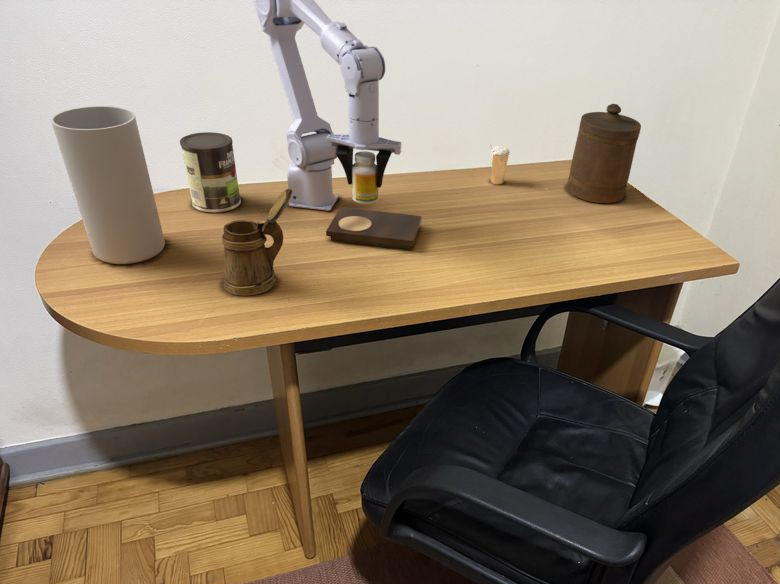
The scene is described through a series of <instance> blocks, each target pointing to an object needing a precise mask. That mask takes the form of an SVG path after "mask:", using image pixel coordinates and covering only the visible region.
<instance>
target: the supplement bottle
mask: <svg viewBox="0 0 780 584" xmlns="http://www.w3.org/2000/svg"><path fill="white" fill-rule="evenodd" d="M375 162H376V154H375V153H374V152H371V151H368V150H360V151H357V152H355V153H354V162H353V165H352V184H351V197H352V200H353V201H354V202H355V203H357V204H360V205H373V204H375V203H376V202H378V200H379V188H378V187H377V163H375Z"/></svg>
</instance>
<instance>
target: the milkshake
mask: <svg viewBox="0 0 780 584" xmlns="http://www.w3.org/2000/svg"><path fill="white" fill-rule="evenodd" d="M489 145H490V146H489V147H490V149H491V157H490V159H491V164H490V182H491V183H492V184H493V185H502V184H504V181H505V177H506V171H507V166H508V161H509V157H510V150H509V149H508V147H506V146H503V145H495V146H494V147H492V144H489Z"/></svg>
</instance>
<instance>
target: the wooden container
mask: <svg viewBox="0 0 780 584" xmlns="http://www.w3.org/2000/svg"><path fill="white" fill-rule="evenodd" d="M621 112H622V108H621V106H620V105H619V104H618V103H610V104H609V105H607V106H606V111H593V112H592V111H591V112H585V113H583V114H582V115H581V119H580V123H579V127H578V133H577V137H576V142H575V146H574V150H573V153H572V159H571V163H570V167H569V175H568V180H567V185H566V188H567V192H569V193H570V194H571V195H573V196H574V197H576V198H578V199H581V200H583V201H586V202H591V203H594V204H595V203H598V204H613V203H618V202H620V201H622V200H623V199H624V197H625V194H626V189H627V186H628V182H629V178H630V175H631V170H632V165H633V161H634V156H635V151H636V147H637V143H638V140H639V137H640V133H641V129H642V125H641V123H640V122H639V121H638V120H637V119H635V118H632V117H630V116H627V115H623V114H620V113H621Z"/></svg>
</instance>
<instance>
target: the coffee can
mask: <svg viewBox="0 0 780 584" xmlns="http://www.w3.org/2000/svg"><path fill="white" fill-rule="evenodd" d="M233 144H234V143H233V138H232V137H231V136H230V135H227V134H224V133H220V132H214V131H213V132H211V131H207V132H205V131H204V132H195V133H190V134H187V135H185V136H182V137H180V139H179V145H180V147H181V151H182V157H183V163H184V168H185V172H186V178H187V183H188V188H189V192H190V198H191V205H192V207H193V208H194V209H195V210H197V211H200V212H204V213H224V212H229V211H232V210H234V209H236V208H238V207H239V206H240V205H241V203H242V200H241V194H240V187H239V181H238V175H237V168H236V160H235V153H234V146H233Z"/></svg>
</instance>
